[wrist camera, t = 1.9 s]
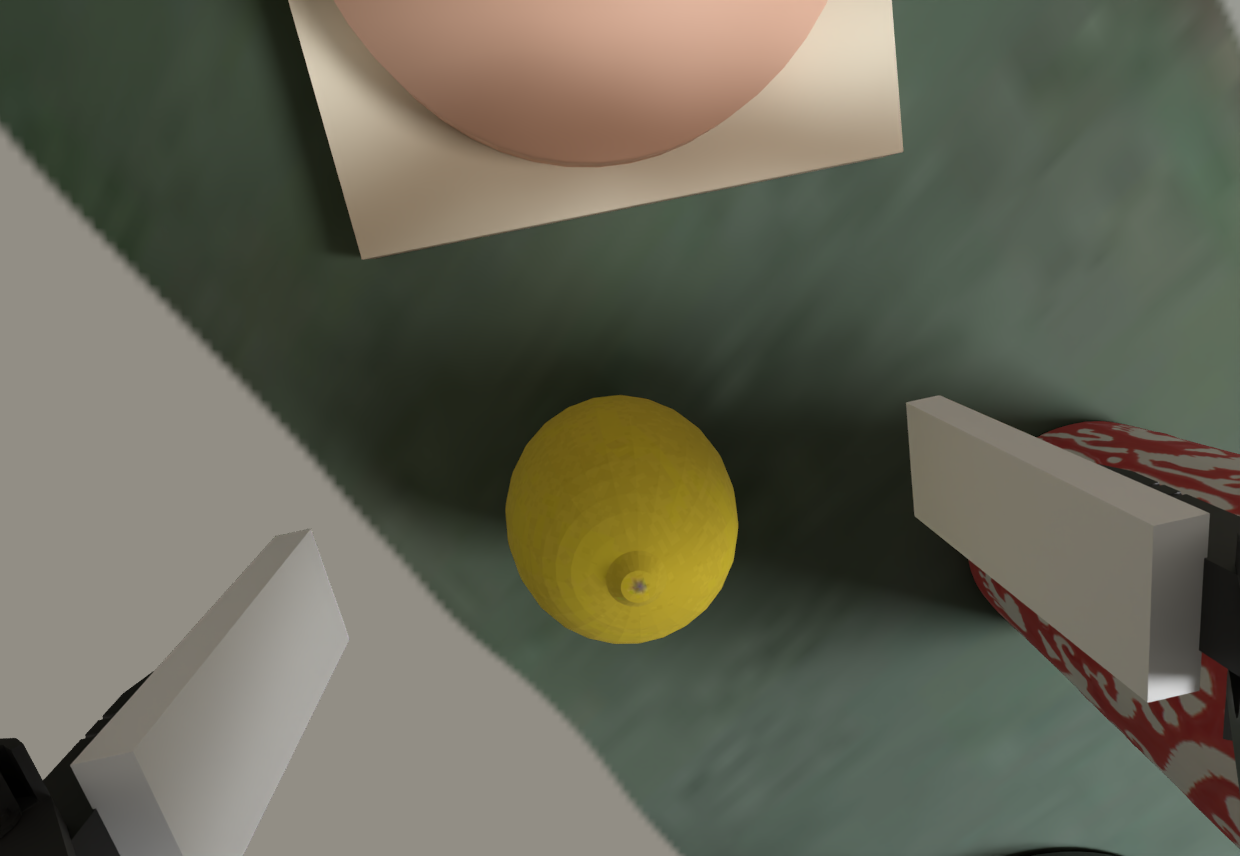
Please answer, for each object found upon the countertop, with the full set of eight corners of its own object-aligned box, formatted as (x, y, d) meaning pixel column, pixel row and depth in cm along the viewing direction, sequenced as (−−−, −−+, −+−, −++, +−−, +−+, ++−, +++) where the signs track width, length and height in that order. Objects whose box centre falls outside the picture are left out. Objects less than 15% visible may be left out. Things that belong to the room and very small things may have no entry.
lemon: (736, 465, 21) (837, 591, 14) (600, 580, 22) (624, 762, 14) (616, 330, 20) (654, 385, 12) (475, 456, 21) (428, 585, 13)
